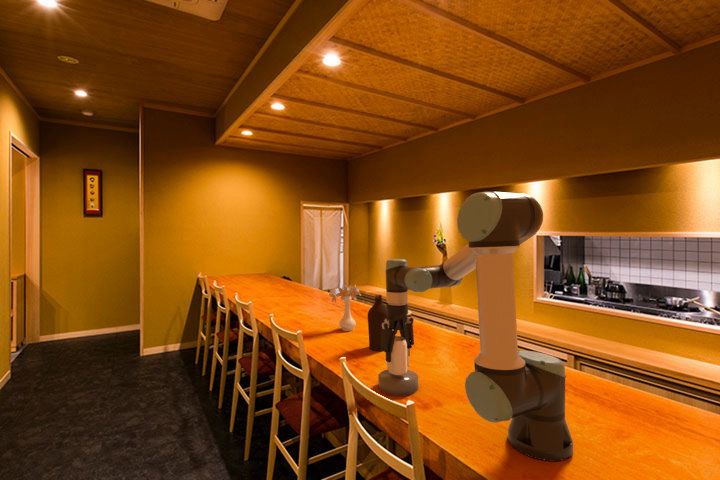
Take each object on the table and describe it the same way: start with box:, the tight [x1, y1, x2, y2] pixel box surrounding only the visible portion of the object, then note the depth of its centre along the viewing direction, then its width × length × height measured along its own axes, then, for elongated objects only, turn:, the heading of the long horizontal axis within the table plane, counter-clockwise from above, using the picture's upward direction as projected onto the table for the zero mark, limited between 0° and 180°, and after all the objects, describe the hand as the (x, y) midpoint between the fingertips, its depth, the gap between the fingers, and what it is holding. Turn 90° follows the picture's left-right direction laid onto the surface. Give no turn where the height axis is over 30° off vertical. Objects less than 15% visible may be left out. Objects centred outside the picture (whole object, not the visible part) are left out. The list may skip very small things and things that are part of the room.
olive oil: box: [367, 294, 389, 352], centre depth 175 cm, size 11×11×25 cm
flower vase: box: [329, 284, 362, 332], centre depth 207 cm, size 13×18×25 cm
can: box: [389, 335, 408, 375], centre depth 132 cm, size 6×6×12 cm
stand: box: [377, 369, 419, 397], centre depth 132 cm, size 14×14×4 cm
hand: (398, 368), depth 132 cm, fingers closed on can, 6 cm apart
